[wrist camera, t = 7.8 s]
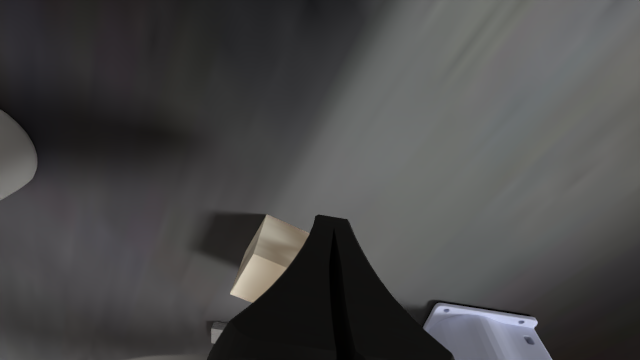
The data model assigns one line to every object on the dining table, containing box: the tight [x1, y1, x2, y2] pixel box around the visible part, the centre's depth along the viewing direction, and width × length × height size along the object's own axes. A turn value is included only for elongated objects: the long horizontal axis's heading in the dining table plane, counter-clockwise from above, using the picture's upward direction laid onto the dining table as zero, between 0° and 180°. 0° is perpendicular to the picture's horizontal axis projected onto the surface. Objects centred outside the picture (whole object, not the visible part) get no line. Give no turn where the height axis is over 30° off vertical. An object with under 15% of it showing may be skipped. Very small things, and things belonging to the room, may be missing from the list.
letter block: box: [230, 215, 309, 303], centre depth 24 cm, size 4×5×4 cm
